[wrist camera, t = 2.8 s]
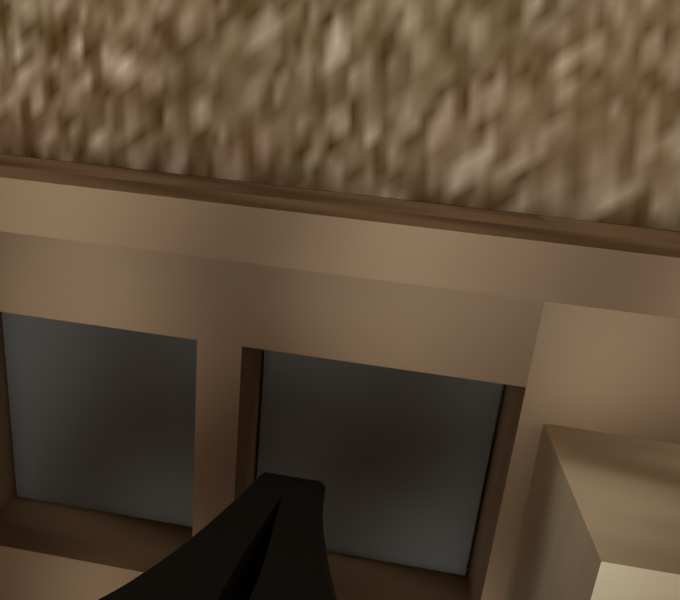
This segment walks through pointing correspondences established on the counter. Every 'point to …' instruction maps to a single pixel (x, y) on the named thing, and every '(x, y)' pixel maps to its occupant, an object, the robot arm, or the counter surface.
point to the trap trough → (304, 370)
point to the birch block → (599, 520)
